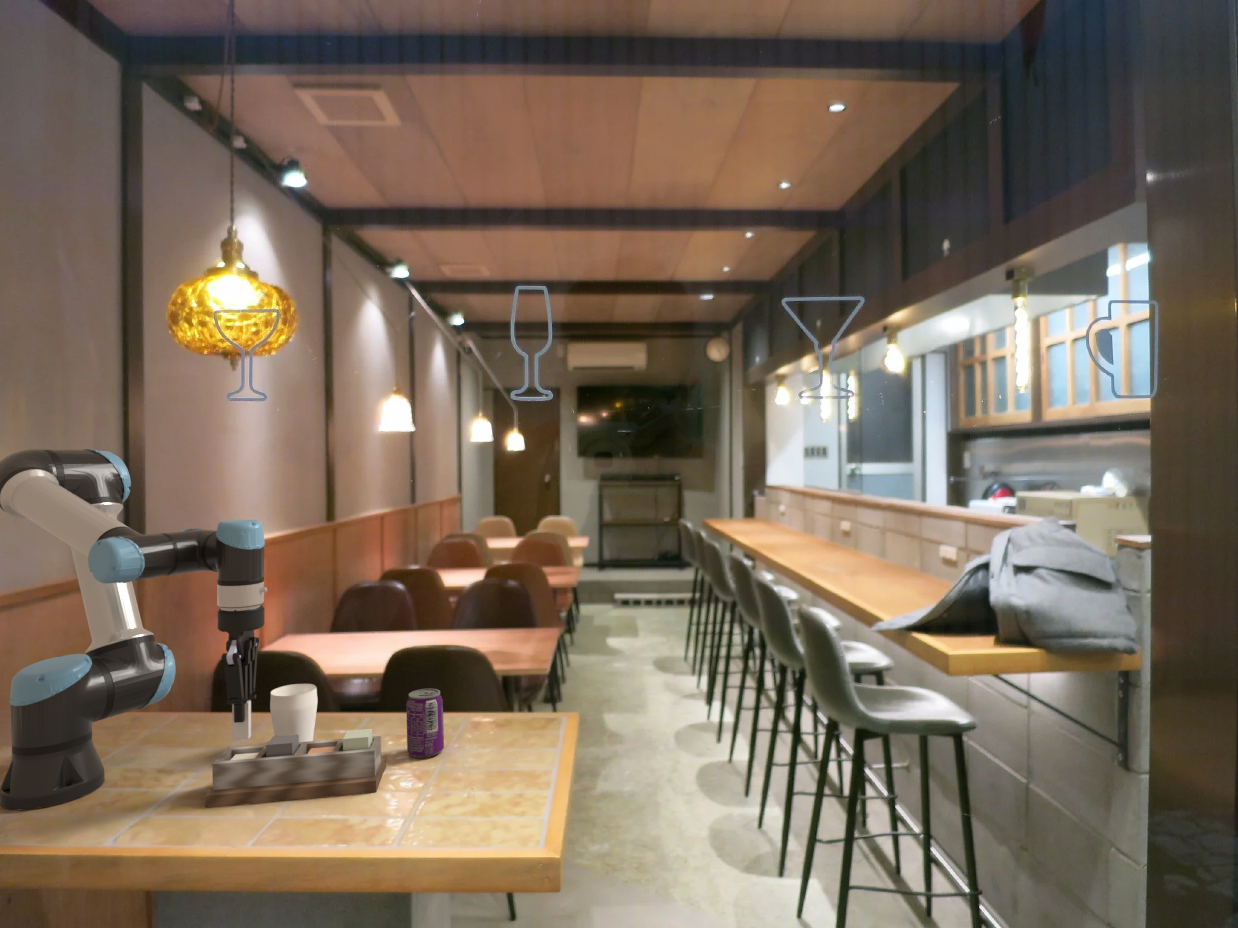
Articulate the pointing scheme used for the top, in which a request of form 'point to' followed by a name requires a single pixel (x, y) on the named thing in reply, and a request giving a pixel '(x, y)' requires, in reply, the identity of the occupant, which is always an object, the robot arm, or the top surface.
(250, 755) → the key ivory
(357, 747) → the key sage
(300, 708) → the cup
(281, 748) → the key charcoal
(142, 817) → the top surface
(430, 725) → the beverage can
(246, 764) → the slotted block tray
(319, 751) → the key terracotta
